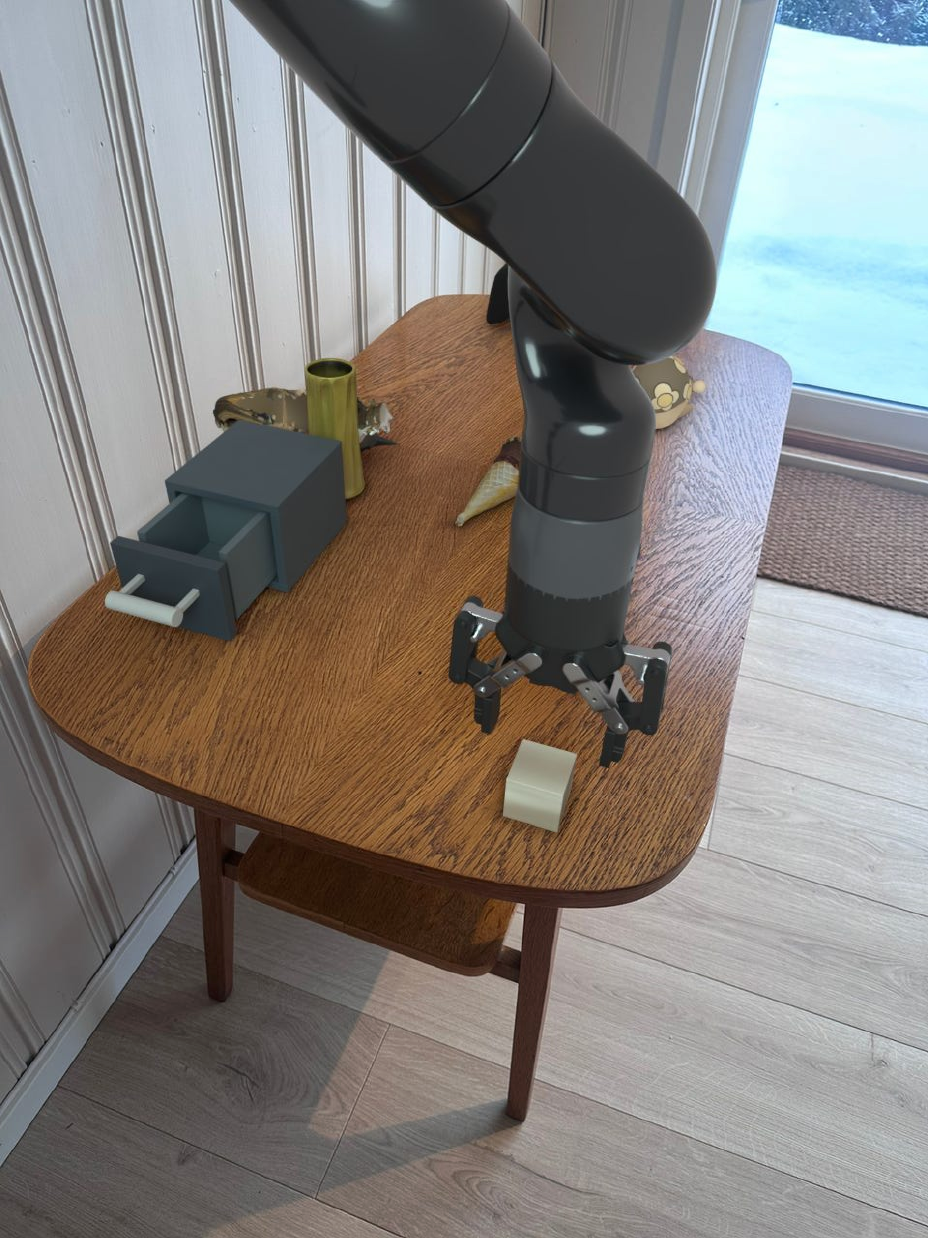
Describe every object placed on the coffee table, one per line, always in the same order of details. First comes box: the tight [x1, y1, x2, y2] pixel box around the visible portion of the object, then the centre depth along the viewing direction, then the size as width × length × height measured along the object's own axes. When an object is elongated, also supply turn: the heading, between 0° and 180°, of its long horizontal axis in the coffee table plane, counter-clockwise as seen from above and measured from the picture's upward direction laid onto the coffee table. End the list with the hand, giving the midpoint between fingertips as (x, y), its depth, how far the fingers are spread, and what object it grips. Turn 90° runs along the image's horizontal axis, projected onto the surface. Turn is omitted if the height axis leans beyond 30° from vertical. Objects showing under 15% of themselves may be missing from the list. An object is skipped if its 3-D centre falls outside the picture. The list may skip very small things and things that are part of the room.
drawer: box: [104, 493, 277, 642], centre depth 79 cm, size 16×11×8 cm, turn 160°
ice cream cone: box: [454, 434, 522, 527], centre depth 98 cm, size 6×6×15 cm
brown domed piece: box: [631, 354, 707, 430], centre depth 116 cm, size 10×11×15 cm
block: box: [502, 738, 578, 833], centre depth 65 cm, size 4×4×4 cm
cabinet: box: [164, 420, 348, 593], centre depth 88 cm, size 13×12×10 cm
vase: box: [304, 357, 366, 501], centre depth 95 cm, size 6×6×14 cm
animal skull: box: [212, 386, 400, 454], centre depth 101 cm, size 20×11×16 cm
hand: (547, 741), depth 62 cm, fingers open, 8 cm apart
